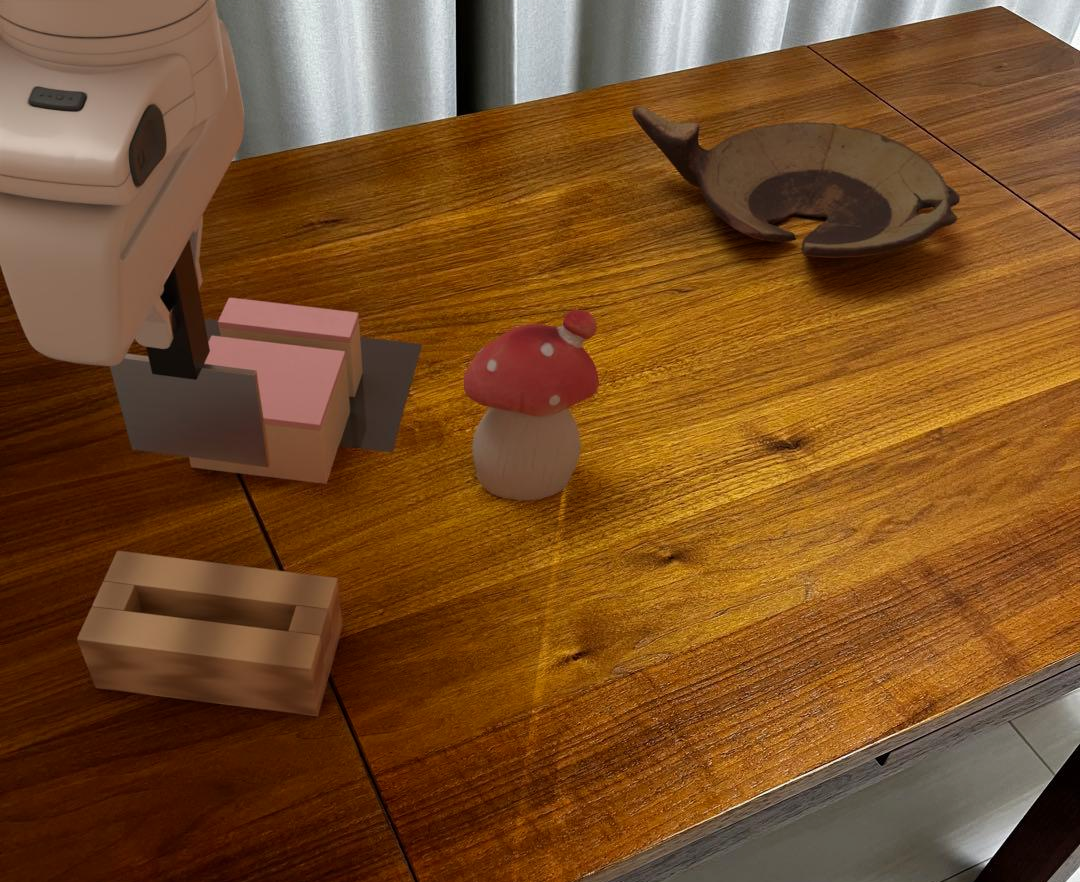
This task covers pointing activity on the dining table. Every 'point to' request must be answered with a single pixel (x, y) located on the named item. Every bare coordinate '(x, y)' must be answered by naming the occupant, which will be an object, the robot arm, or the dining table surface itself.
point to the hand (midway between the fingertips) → (170, 316)
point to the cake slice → (296, 329)
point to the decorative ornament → (531, 406)
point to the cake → (290, 405)
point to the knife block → (213, 633)
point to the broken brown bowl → (812, 183)
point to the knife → (190, 389)
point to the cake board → (374, 391)
